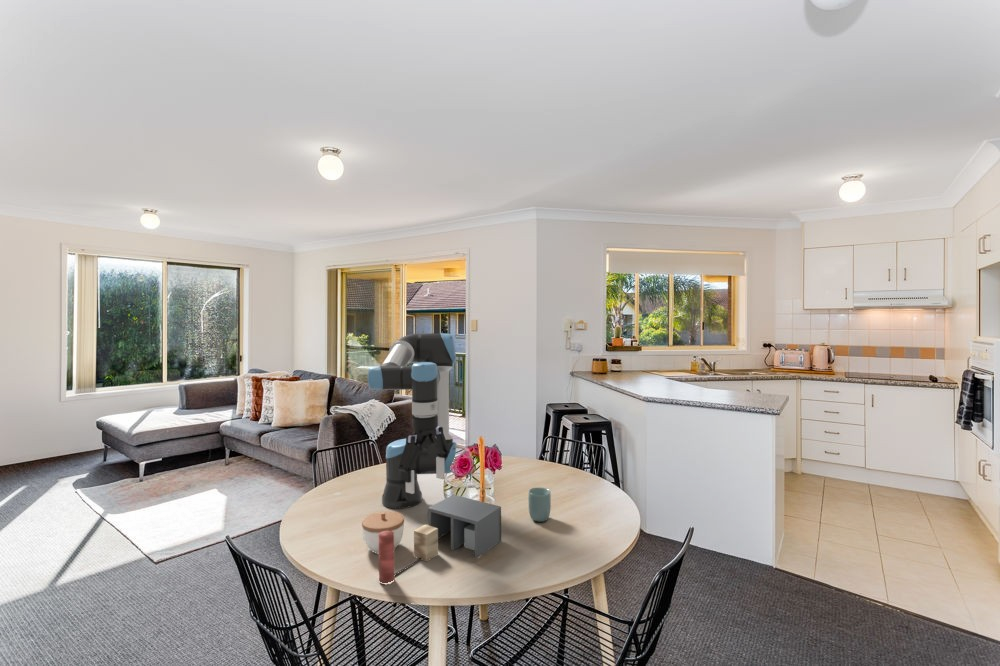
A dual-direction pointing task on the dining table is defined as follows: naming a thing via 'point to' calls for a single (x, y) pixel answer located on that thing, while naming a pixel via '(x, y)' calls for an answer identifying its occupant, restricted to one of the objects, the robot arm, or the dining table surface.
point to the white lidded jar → (382, 528)
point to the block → (469, 536)
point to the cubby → (467, 521)
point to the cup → (539, 504)
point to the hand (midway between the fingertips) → (425, 485)
